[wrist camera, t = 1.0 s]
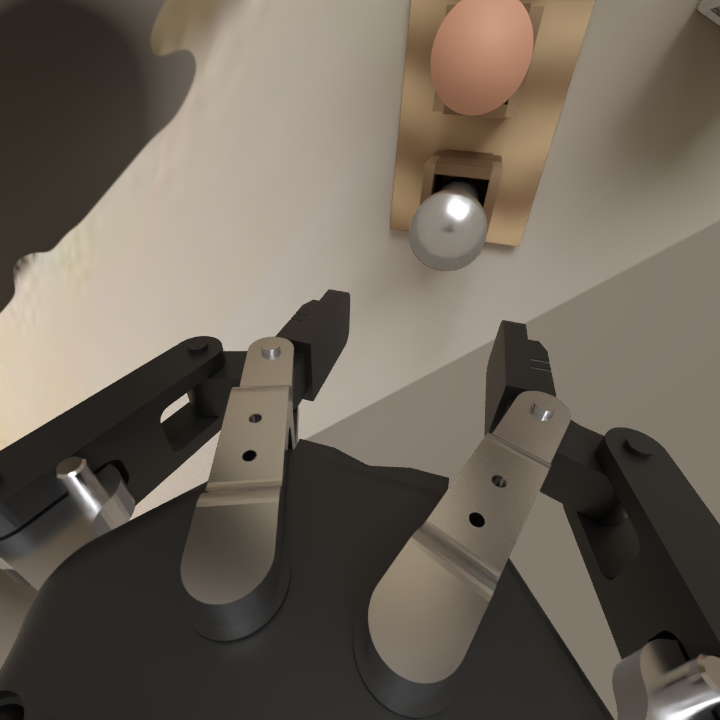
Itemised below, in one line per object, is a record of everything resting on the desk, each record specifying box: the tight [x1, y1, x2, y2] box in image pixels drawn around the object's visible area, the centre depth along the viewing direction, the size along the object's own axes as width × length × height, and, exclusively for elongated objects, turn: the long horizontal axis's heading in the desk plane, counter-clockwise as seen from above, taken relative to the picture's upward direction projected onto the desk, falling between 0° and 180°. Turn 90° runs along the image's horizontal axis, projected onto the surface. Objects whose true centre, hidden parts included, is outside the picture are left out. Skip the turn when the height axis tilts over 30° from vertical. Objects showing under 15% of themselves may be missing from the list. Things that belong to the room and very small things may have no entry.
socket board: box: [390, 0, 595, 246], centre depth 25 cm, size 25×12×8 cm, turn 177°
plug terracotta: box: [430, 0, 534, 116], centre depth 20 cm, size 4×4×9 cm
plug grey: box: [409, 176, 487, 271], centre depth 25 cm, size 4×4×9 cm
